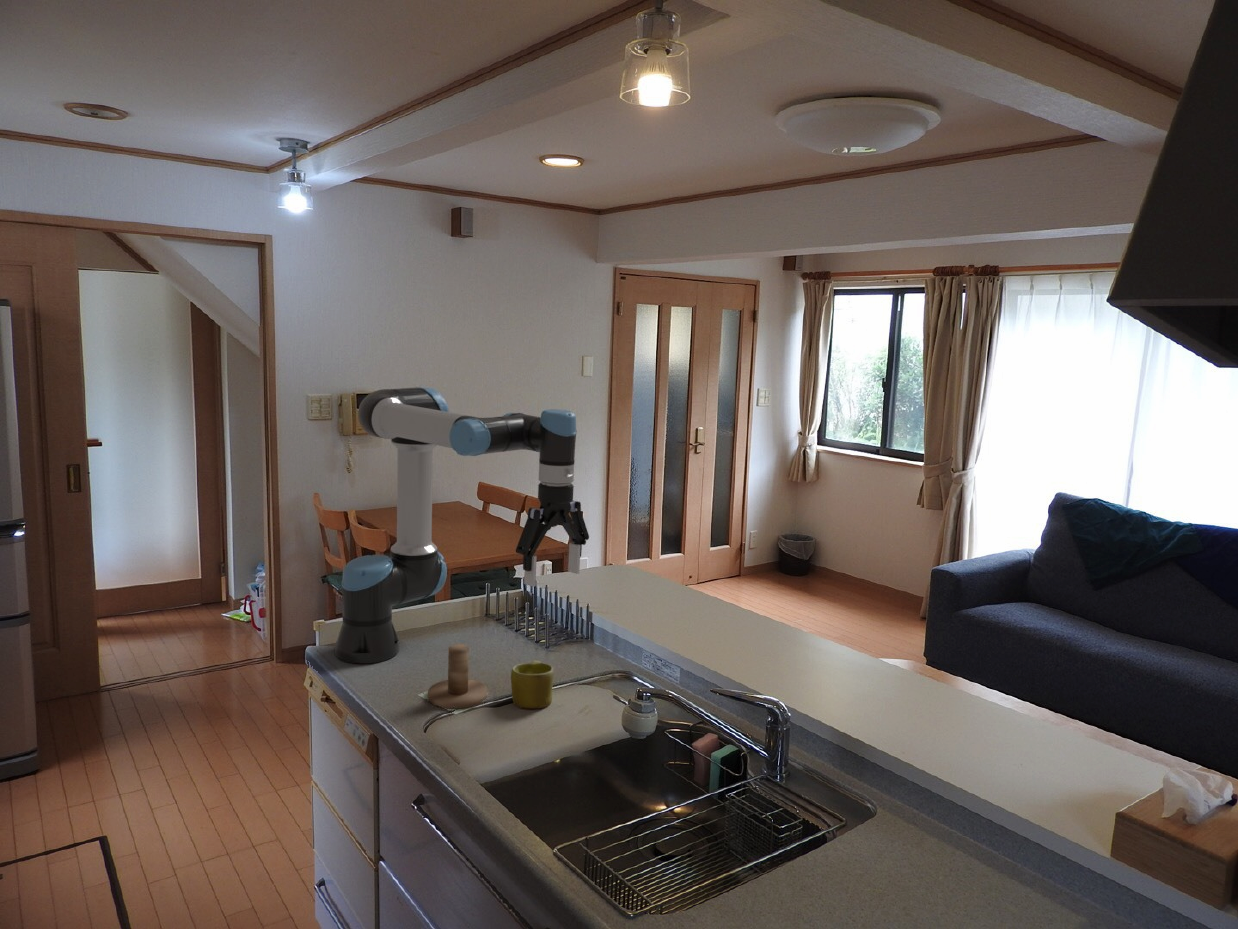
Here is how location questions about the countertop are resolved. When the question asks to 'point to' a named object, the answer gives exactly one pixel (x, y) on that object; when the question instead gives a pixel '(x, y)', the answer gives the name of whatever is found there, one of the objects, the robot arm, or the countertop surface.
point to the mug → (532, 685)
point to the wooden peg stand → (457, 683)
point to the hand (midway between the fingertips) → (552, 578)
